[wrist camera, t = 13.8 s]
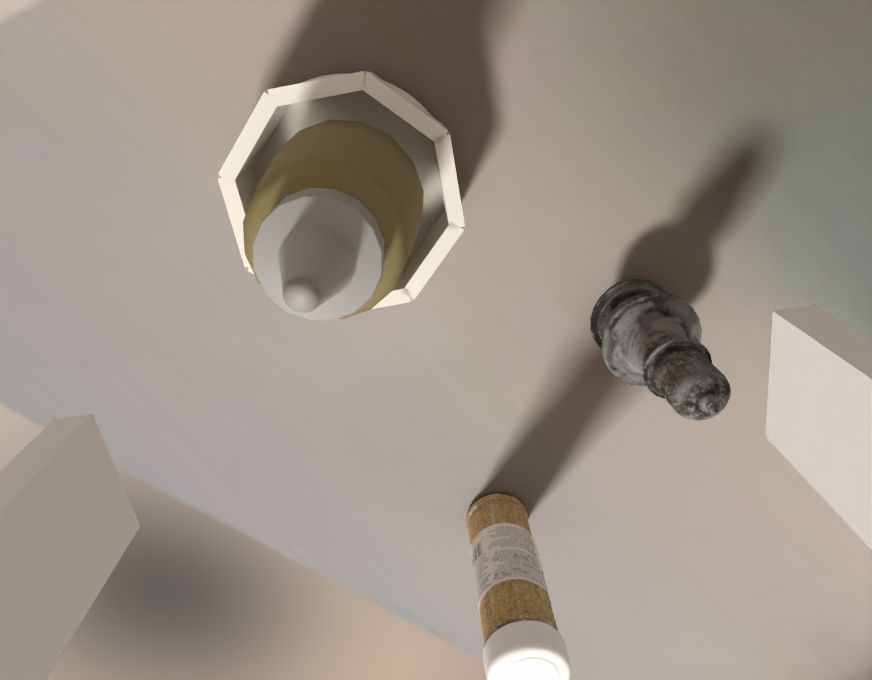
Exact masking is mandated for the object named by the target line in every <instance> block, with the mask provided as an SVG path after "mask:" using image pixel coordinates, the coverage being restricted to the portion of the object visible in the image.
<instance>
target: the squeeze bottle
mask: <svg viewBox="0 0 872 680" xmlns="http://www.w3.org/2000/svg"><path fill="white" fill-rule="evenodd" d="M423 195H424V191H423V188H422V185H421V182H420V179H419V177H418V174H417V171H416V168H415V165H414V162H413V161H412V159H411V158H410V157H409V156H408V155H407V154H406V152H405V151H404V150H403V149H402V148H401V147H400V146H399V144H398V143H397V142H396V141H395V140H394V139H393V138H392V136H390V135H388V134H386V133H384V132H382V131H380V130H378V129H376V128H374V127H372V126H370V125H368V124H366V123H364V122H359V121H344V120H327V121H324V122H321V123H319V124H316V125H313V126H310V127H308V128H305V129H302V130H300V131H298V132H297V133H296V134H295V135H294V136H293V137H292V138H291V139H290V140H289V141H288V142H287V143H286V144H285V145H284V146H283V147H282V148H281V149H280V150H279V151H278V152H277V153H276V155H275V156H274V158H273V160H272V162H271V163H270V165H269V167H268V169H267V170H266V172H265V174H264V176H263V178H262V179H261V181H260V183H259V185H258V186H257V188H256V190H255V192H254V194H253V197H252V199H251V202H250V205H249V207H248V210H247V213H246V215H245V218H244V221H243V232H244V250H245V256H246V258H247V260H248V262H249V264H250V266H251V268H252V270H253V272H254V275H255V277H256V279H257V281H258V283H259V284H260V285H261V287H262V289H263V291H264V293H265V294H266V295H267V296H269V297H270V298H271V299H272V300H273V301H274V302H275V303H276V304H277V305H278V306H279V307H280V308H281V309H282V310H284V311H286V312H289V313H291V314H293V315H296V316H298V317H301V318H303V319H305V320H320V321H333V320H336V319H344V318H347V317H350V316H353V315H356V314H358V313H361V312H364V311H367V310H370V309H372V308H373V307H374V306H375V305H377V304H378V303H379V302H380V301H381V300H382V299H383V298H385V297H386V296H387V295H388V294H389V293H390V292H392V291H393V290H394V288H395V286H396V284H397V282H398V280H399V278H400V276H401V274H402V272H403V270H404V268H405V265H406V263H407V261H408V258H409V256H410V253H411V250H412V248H413V245H414V242H415V240H416V237H417V234H418V232H419V229H420V226H421V224H422V213H423Z"/></svg>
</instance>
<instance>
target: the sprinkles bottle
mask: <svg viewBox="0 0 872 680" xmlns="http://www.w3.org/2000/svg"><path fill="white" fill-rule="evenodd" d="M466 527H467V530H468V532H469V537H470V543H471V559H472V566H473V574H474V582H475V589H476V596H477V603H478V610H479V614H480V617H481V624H482V629H483V635H484V651H483V659H484V666H485V672H486V677H487V680H569V679H570V675H571V666H570V661H569V657H568V654H567V650H566V646H565V643H564V640H563V638H562V636H561V634H560V633H559V632H558V629H557V626H556V622H555V619H554V615H553V612H552V608H551V602H550V599H549V595H548V592H547V588H546V585H545V581H544V575H543V570H542V566H541V563H540V559H539V556H538V552H537V549H536V545H535V542H534V539H533V537H532V534H531V531H530V527H529V524H528V514H527V511H526V509H525V507H524V506H523V504H522V503H521V502H520V501H519V500H518V499H516V498H515V497H513V496H509V495H506V494H490V495H487V496H484V497H483V498H481V499H479V500H478V501H476V502H475V503H474V504H473V505H472V506H471V508H470V509H469V511H468V515H467V517H466Z"/></svg>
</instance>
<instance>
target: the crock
mask: <svg viewBox="0 0 872 680" xmlns="http://www.w3.org/2000/svg"><path fill="white" fill-rule="evenodd" d="M327 120H344V121H359V122H364V123H366V124H368V125H370V126H372V127H374V128H376V129H378V130H380V131H382V132H384V133H386V134H388V135H390V136H392V138H393V139H394V140H395V141H396V142H397V143H398V144H399V146H400V147H401V148H402V149H403V150H404V151H405V152H406V154H407V155H408V156H409V157H410V158H411V159H412V161H413V162H414V165H415V168H416V171H417V174H418V177H419V179H420V182H421V185H422V188H423V191H424V195H423V213H422V224H421V226H420V229H419V232H418V234H417V237H416V240H415V242H414V245H413V248H412V250H411V253H410V256H409V258H408V261H407V263H406V265H405V268H404V270H403V272H402V274H401V276H400V278H399V280H398V282H397V284H396V286H395V288H394V290H393V291H392V292H390V293H389V294H388V295H387V296H386V297H385V298H383V299H382V300H381V301H380V302H379V303H378V304H377V305H375V306H374V307H373V308H372V309H374V308H380V307H385V306H391V305H396V304H402V303H407V302H411V298H412V299H413V300H414V299H415V298H416V296H417V295H418V294H419V292H420V291H421V289H422V288H423V287H424V285H425V284H426V282H427V281H428V280H429V278H430V277H431V275H432V274H433V273H434V271H435V270H436V269H437V267H438V266H439V264H440V263H441V262H442V260H443V259H444V257H445V256H446V255H447V253H448V252H449V250H450V249H451V248H452V246H453V245H454V243H455V242H456V241H457V239H458V238H459V236H460V235H461V234H462V232H463V231H464V228H463V227H465V224H464V218H463V211H462V205H461V199H460V193H459V187H458V180H457V174H456V168H455V162H454V155H453V149H452V143H451V137H450V133H449V132H448V130H447V129H446V127H445V126H444V125H443V124H442V123H441V122H439V121H438V120H437V119H435V118H434V117H432V115H431V114H430V113H429V112H428V111H427V110H426V109H425V108H424V107H423V106H422V104H420V103H419V102H418V101H417V100H416V99H414V98H413V97H412V96H411V95H410V94H408V93H406V92H405V91H403V90H402V89H400V88H399V87H397V86H395V85H393V84H390V83H388V82H386V81H384V80H382V79H381V78H379V77H378V76H377V75H375V74H374V73H373V72H368V71H361V72H356V73H350V74H331V75H324V76H320V77H316V78H313V79H309V80H307V81H305V82H302V83H299V84H294V85H288V86H283V87H278V88H273V89H268V91H267V92H264V93H263V95H262V97H261V98H260V100H259V102H258V104H257V106H256V107H255V109H254V111H253V113H252V114H251V116H250V118H249V120H248V122H247V123H246V125H245V127H244V129H243V131H242V132H241V134H240V136H239V138H238V140H237V141H236V143H235V145H234V147H233V148H232V150H231V152H230V154H229V156H228V157H227V159H226V161H225V163H224V165H223V166H222V168H221V170H220V172H219V174H218V175H219V176H221V177H219V178H218V181H219V185H220V188H221V191H222V194H223V198H224V201H225V204H226V207H227V211H228V214H229V217H230V220H231V224H232V227H233V230H234V233H235V237H236V240H237V243H238V246H239V250H240V253H241V256H242V259H243V263H244V266H245V267H249V268H248V271H249V272H251V273H253V274H254V272H253V270H252V268H251V266H250V264H249V262H248V260H247V258H246V256H245V250H244V232H243V221H244V218H245V215H246V213H247V210H248V207H249V205H250V202H251V199H252V197H253V194H254V192H255V190H256V188H257V186H258V185H259V183H260V181H261V179H262V178H263V176H264V174H265V172H266V170H267V169H268V167H269V165H270V163H271V162H272V160H273V158H274V156H275V155H276V153H277V152H278V151H279V150H280V149H281V148H282V147H283V146H284V145H285V144H286V143H287V142H288V141H289V140H290V139H291V138H292V137H293V136H294V135H295V134H296V133H297V132H298V131H300V130H302V129H305V128H308V127H310V126H313V125H316V124H319V123H321V122H324V121H327Z"/></svg>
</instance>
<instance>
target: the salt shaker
mask: <svg viewBox="0 0 872 680" xmlns="http://www.w3.org/2000/svg"><path fill="white" fill-rule="evenodd" d="M701 331H702V329H701V325H700V321H699V317H698V316H697V314H696V312H695V311H694V309H693V308H692V307H691V306H690V305H689V304H688V303H687V302H685V301H684V300H683V299H681V298H678V297H676V296H674V295H671V294H667V293H666V292H665V291H664V290H663V289H662V288H660V287H659V286H658V285H656V284H654V283H652V282H649V281H644V280H630V281H625V282H622V283H620V284H617V285H615V286H614V287H612V288H611V289H609V290H607V291H606V292H605V293H604V294H603V295H602V296H601V298H600V299H599V300H598V302H597V303H596V305H595V307H594V309H593V312H592V316H591V332H592V335H593V338H594V340H595V341H596V343H597V344H598V346H599V347H600V348H601V349H602V355H603V359H604V362H605V364H606V365H607V367H608V368H609V370H610V371H611V373H612V374H614V375H615V376H616V377H617V378H619V379H620V380H622V381H624V382H626V383H629V384H631V385H639V386H647V387H648V389H649V390H650V391H651V392H652V393H653V394H655V395H656V396H658V397H661V398H664V399H666V400H667V401H668V402H669V404H670V405H671V406H672V407H673V409H674V410H675V411H676V412H677V413H678V414H680V415H681V416H683V417H684V418H687V419H689V420H696V421H698V420H705V419H709V418H712V417H714V416H715V415H717V414H719V413H720V412H721V411H722V410H723V409H724V408H725V406H726V405H727V403H728V400H729V398H730V391H731V390H730V385H729V383H728V381H727V379H726V377H725V376H724V375H723V374H722V373H721V372H720V371H719V370H718V369H717V368H716V367H715V366H714V365H713V364H712V360H711V356H710V353H709V352H708V350H707V348H706V347H705V346H703V345H702V344H701V343H700V342H701Z"/></svg>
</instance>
